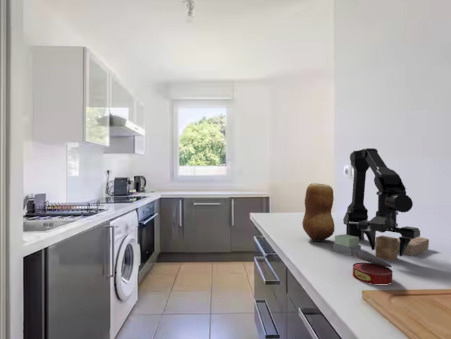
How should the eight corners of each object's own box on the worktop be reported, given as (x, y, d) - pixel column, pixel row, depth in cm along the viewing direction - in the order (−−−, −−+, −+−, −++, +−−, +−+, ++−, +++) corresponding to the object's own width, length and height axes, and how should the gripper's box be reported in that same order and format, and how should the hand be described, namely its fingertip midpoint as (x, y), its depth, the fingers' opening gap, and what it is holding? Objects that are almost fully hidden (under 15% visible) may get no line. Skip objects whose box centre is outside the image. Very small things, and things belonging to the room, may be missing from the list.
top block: (334, 243, 107) (334, 235, 107) (344, 241, 110) (344, 234, 110) (349, 247, 102) (349, 238, 102) (358, 245, 105) (358, 237, 105)
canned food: (351, 290, 82) (343, 255, 86) (388, 288, 81) (378, 253, 85) (363, 285, 72) (353, 246, 77) (405, 283, 71) (392, 243, 76)
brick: (412, 256, 102) (413, 243, 102) (388, 251, 109) (388, 239, 109) (429, 250, 112) (429, 238, 112) (406, 245, 119) (406, 234, 119)
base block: (333, 251, 107) (333, 243, 107) (343, 249, 111) (343, 241, 111) (350, 256, 101) (350, 247, 101) (360, 253, 105) (360, 245, 105)
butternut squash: (338, 244, 116) (339, 184, 116) (306, 243, 116) (307, 183, 117) (327, 237, 130) (328, 183, 130) (298, 236, 130) (299, 182, 130)
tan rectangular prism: (375, 256, 100) (375, 237, 100) (382, 254, 103) (382, 235, 103) (390, 260, 96) (391, 240, 96) (397, 258, 99) (397, 238, 99)
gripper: (349, 206, 102) (349, 250, 102) (407, 213, 87) (406, 264, 87) (365, 205, 109) (364, 246, 108) (421, 211, 94) (420, 258, 94)
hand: (386, 253), depth 99 cm, fingers open, 9 cm apart
